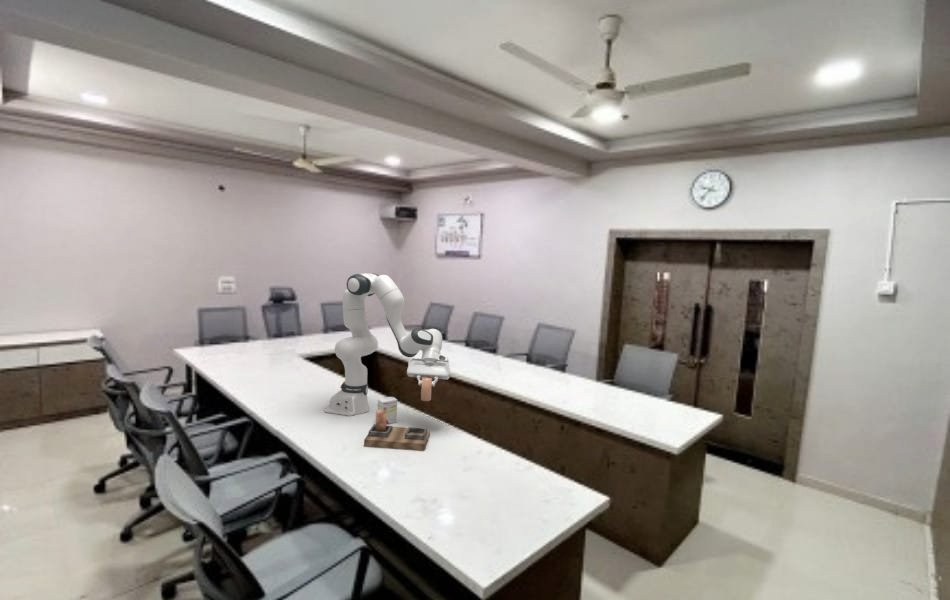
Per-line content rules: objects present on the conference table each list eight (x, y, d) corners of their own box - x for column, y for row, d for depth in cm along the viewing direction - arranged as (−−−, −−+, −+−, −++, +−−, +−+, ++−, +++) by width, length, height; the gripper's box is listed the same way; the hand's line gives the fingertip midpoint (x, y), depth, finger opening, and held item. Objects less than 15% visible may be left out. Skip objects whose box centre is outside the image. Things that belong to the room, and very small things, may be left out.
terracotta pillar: (420, 400, 208) (421, 379, 207) (421, 397, 213) (422, 376, 212) (430, 401, 208) (431, 380, 207) (431, 398, 213) (432, 377, 212)
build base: (364, 446, 193) (364, 416, 192) (374, 431, 209) (375, 404, 208) (424, 450, 192) (425, 421, 191) (429, 435, 208) (431, 408, 207)
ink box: (380, 425, 216) (381, 401, 215) (376, 422, 220) (377, 398, 219) (396, 422, 222) (397, 399, 220) (392, 419, 226) (393, 396, 224)
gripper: (408, 354, 216) (403, 380, 207) (451, 357, 215) (447, 383, 206) (409, 361, 221) (404, 386, 212) (451, 364, 220) (448, 390, 211)
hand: (426, 385), depth 209 cm, fingers closed on terracotta pillar, 5 cm apart
